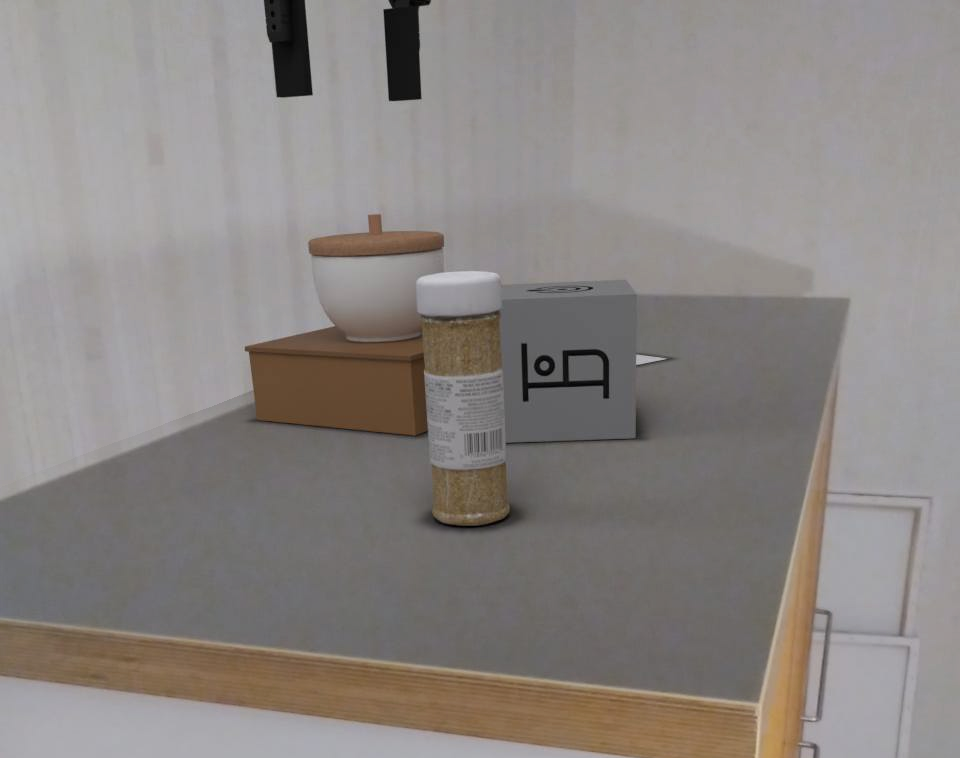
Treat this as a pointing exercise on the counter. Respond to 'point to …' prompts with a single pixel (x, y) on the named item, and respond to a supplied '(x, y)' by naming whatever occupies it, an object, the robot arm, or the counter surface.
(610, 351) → the icon cube
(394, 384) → the takeaway box
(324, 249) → the trinket box
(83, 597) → the counter surface
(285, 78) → the robot arm
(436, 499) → the sprinkles bottle
